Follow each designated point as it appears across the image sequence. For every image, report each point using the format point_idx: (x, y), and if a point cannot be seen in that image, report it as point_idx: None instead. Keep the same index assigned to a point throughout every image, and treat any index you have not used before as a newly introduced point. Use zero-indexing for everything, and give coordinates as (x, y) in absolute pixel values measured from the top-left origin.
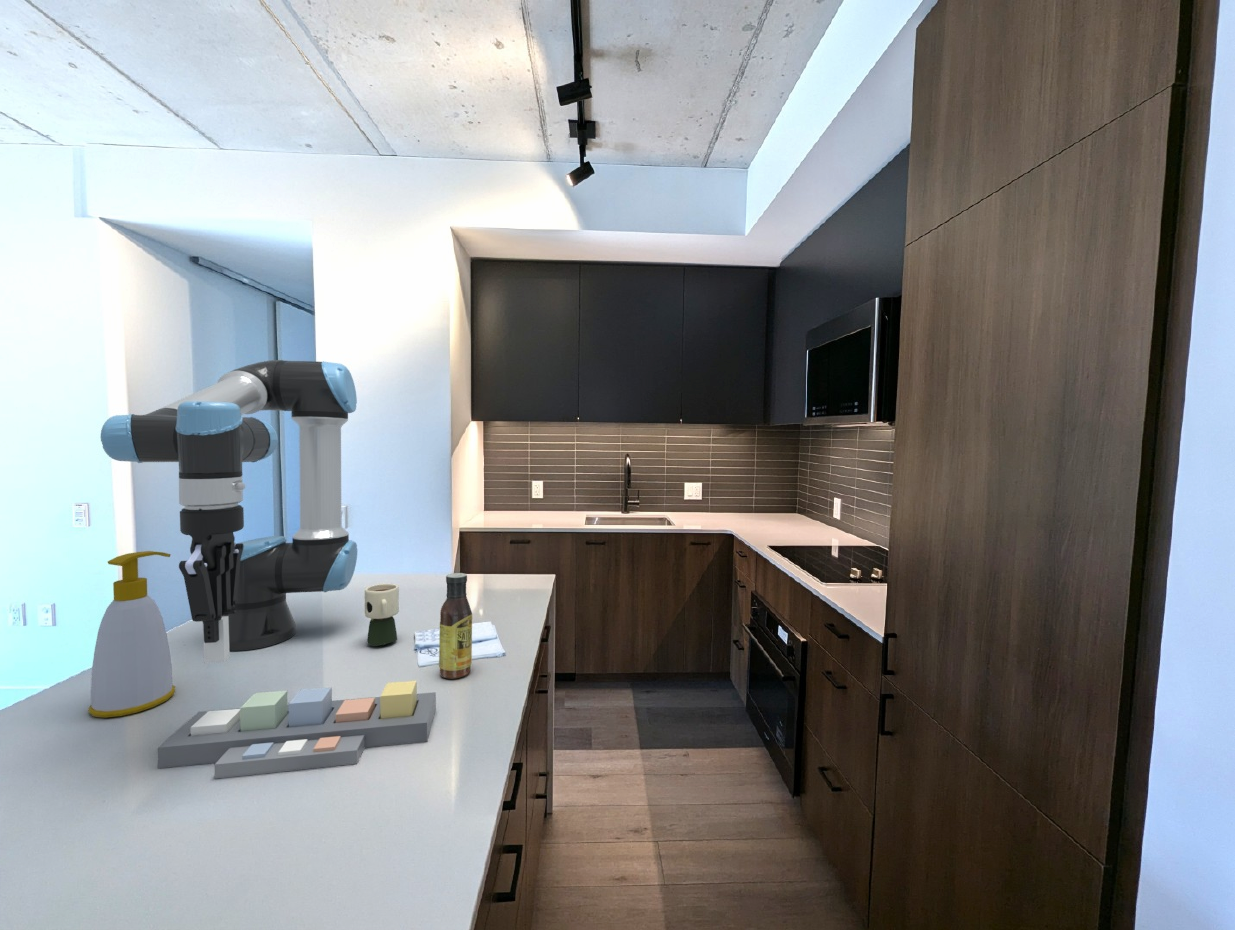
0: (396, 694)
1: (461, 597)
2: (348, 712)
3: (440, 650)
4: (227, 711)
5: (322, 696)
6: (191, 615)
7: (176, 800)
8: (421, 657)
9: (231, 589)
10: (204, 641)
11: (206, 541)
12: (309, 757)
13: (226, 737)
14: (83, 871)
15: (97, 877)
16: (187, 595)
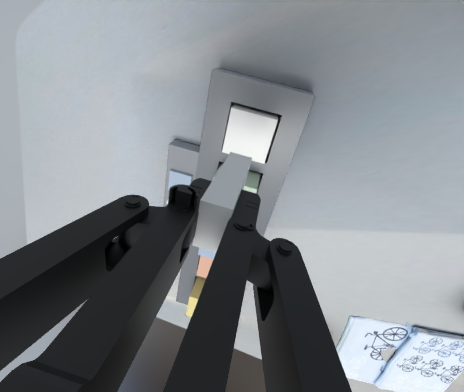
0: (188, 306)
1: None
2: (200, 262)
3: None
4: (263, 147)
5: (210, 256)
6: (108, 204)
7: (147, 111)
8: (378, 324)
9: (263, 330)
10: (195, 179)
11: None
12: None
13: (208, 151)
14: (61, 63)
15: (54, 79)
16: (10, 254)
